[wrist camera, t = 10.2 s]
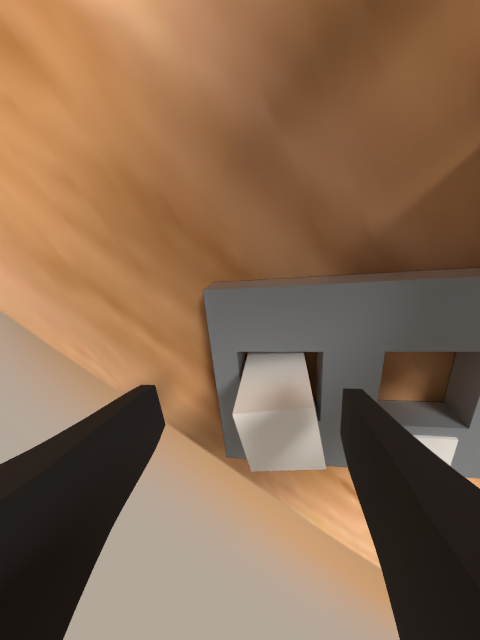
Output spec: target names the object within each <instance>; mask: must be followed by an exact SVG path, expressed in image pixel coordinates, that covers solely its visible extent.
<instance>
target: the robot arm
mask: <svg viewBox="0 0 480 640" xmlns="http://www.w3.org/2000/svg"><path fill="white" fill-rule="evenodd" d="M164 427H165V421H164V418H163V414H162V410H161V406H160V402H159V399H158V395H157V391H156V387H155V385H140V386H138V387H136V388H135V389H133V390H131V391H129V392H128V393H126V394H124V395H123V396H121V397H119V398H118V399H116V400H114V401H113V402H111V403H109V404H108V405H106V406H104V407H103V408H101V409H100V410H98V411H96V412H95V413H93V414H91V415H90V416H89V417H87V418H85V419H83V420H82V421H80V422H78V423H76V424H75V425H73V426H71V427H69V428H68V429H66V430H64V431H62V432H61V433H59V434H57V435H55V436H54V437H52V438H50V439H48V440H47V441H45V442H43V443H41V444H39V445H37V446H35V447H34V448H32V449H30V450H28V451H26V452H24V453H22V454H20V455H18V456H16V457H14V458H12V459H10V460H8V461H6V462H4V463H2V464H0V640H63V638H64V635H65V633H66V631H67V628H68V626H69V623H70V621H71V619H72V616H73V614H74V611H75V609H76V607H77V604H78V602H79V600H80V597H81V595H82V593H83V591H84V588H85V586H86V584H87V581H88V579H89V577H90V575H91V572H92V570H93V568H94V565H95V563H96V561H97V559H98V557H99V555H100V552H101V550H102V548H103V546H104V544H105V542H106V540H107V537H108V535H109V533H110V531H111V529H112V527H113V525H114V523H115V521H116V519H117V517H118V516H119V514H120V512H121V510H122V508H123V506H124V505H125V503H126V501H127V499H128V498H129V496H130V494H131V492H132V491H133V489H134V487H135V485H136V483H137V482H138V480H139V478H140V476H141V475H142V473H143V471H144V469H145V467H146V466H147V464H148V462H149V460H150V458H151V456H152V455H153V453H154V451H155V449H156V446H157V444H158V442H159V440H160V437H161V434H162V432H163V429H164ZM340 436H341V440H342V445H343V449H344V454H345V458H346V462H347V466H348V469H349V472H350V475H351V478H352V481H353V484H354V487H355V490H356V493H357V496H358V499H359V502H360V505H361V507H362V510H363V513H364V516H365V519H366V522H367V525H368V528H369V531H370V534H371V537H372V540H373V543H374V546H375V549H376V552H377V555H378V559H379V562H380V565H381V568H382V572H383V576H384V580H385V583H386V587H387V591H388V595H389V599H390V603H391V607H392V610H393V614H394V618H395V622H396V626H397V630H398V634H399V638H400V640H480V489H479V488H478V487H477V486H475V485H474V484H473V483H471V482H470V481H469V480H467V479H466V478H465V477H464V476H462V475H461V474H460V473H458V472H457V471H456V470H455V469H453V468H452V467H451V466H450V465H448V464H447V463H446V462H445V461H443V460H442V459H441V458H440V457H438V456H437V455H436V454H435V453H433V452H432V451H431V450H430V449H428V448H427V447H426V446H425V445H424V444H423V443H421V442H420V441H419V440H418V439H417V438H415V437H414V436H413V435H412V434H411V433H410V432H409V431H407V430H406V429H405V428H404V427H403V426H402V425H401V424H399V423H398V422H397V421H396V420H395V419H394V418H393V417H392V416H391V415H390V414H388V413H387V412H386V411H385V410H384V409H383V408H382V407H381V406H380V405H379V404H378V403H377V402H376V401H374V400H373V399H372V398H371V397H370V396H369V395H368V394H367V393H366V392H365V391H364V390H363V389H346V388H343V396H342V411H341V427H340Z"/></svg>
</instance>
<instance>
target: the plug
mask: <svg viewBox="0 0 480 640" xmlns="http://www.w3.org/2000/svg"><path fill="white" fill-rule="evenodd" d="M232 415H233V418H234V421H235V424H236V427H237V430H238V433H239V437H240V440H241V443H242V446H243V449H244V452H245V455H246V458H247V461H248V464H249V467H250V470H251V472H260V471H291V470H323V469H326V464H325V459H324V454H323V448H322V443H321V438H320V433H319V427H318V422H317V417H316V411H315V406H314V401H313V396H312V391H311V386H310V381H309V376H308V371H307V366H306V361H305V356H304V352H248V355H247V359H246V363H245V367H244V371H243V375H242V379H241V382H240V386H239V390H238V394H237V398H236V402H235V406H234V410H233V413H232Z"/></svg>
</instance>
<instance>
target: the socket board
mask: <svg viewBox="0 0 480 640" xmlns="http://www.w3.org/2000/svg"><path fill="white" fill-rule="evenodd" d="M203 296H204V303H205V310H206V317H207V324H208V331H209V338H210V345H211V352H212V359H213V366H214V373H215V380H216V387H217V394H218V401H219V408H220V415H221V422H222V429H223V436H224V443H225V450H226V457H228V458H240V459H247V458H246V455H245V452H244V449H243V446H242V443H241V440H240V437H239V433H238V430H237V427H236V424H235V421H234V418H233V415H232V413H233V410H234V406H235V402H236V398H237V394H238V390H239V386H240V382H241V379H242V375H243V371H244V367H245V360H244V352H317V365H316V396H315V398H313V401H314V406H315V411H316V417H317V422H318V427H319V433H320V438H321V443H322V448H323V454H324V459H325V464H326V466H336V467H348V466H347V462H346V458H345V454H344V449H343V445H342V440H341V436H340V427H341V411H342V396H343V388H346V389H363V390H364V391H365V392H366V393H367V394H368V395H369V396H370V397H371V398H372V399H373V400H374V401H376V402H377V403H378V404H379V405H380V406H381V407H382V408H383V409H384V410H385V411H386V412H387V413H388V414H390V415H391V416H392V417H393V418H394V419H395V420H396V421H397V422H398V423H399V424H401V425H402V426H403V427H404V428H405V429H406V430H407V431H409V432H410V433H411V434H412V435H413V436H414V437H415V438H417V439H418V440H419V441H420V442H421V443H423V444H424V445H425V446H426V447H427V448H428V449H430V450H431V451H432V452H433V453H435V454H436V455H437V456H438V457H440V458H441V459H442V460H443V461H445V462H446V463H447V464H448V465H450V466H451V467H452V468H453V469H455V470H456V471H457V472H458V473H460V474H461V475H462V476H464V477H468V478H480V267H478V268H461V269H443V270H425V271H407V272H389V273H371V274H353V275H335V276H317V277H300V278H282V279H264V280H246V281H228V282H213V283H212V284H211V285H209V286H208V287H207V288H205V289H204V290H203ZM385 352H456V355H455V359H454V363H453V367H452V371H451V375H450V378H449V382H448V386H447V390H446V394H445V397H444V401H443V402H422V401H393V400H378V398H379V391H380V384H381V377H382V370H383V363H384V356H385Z"/></svg>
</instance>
